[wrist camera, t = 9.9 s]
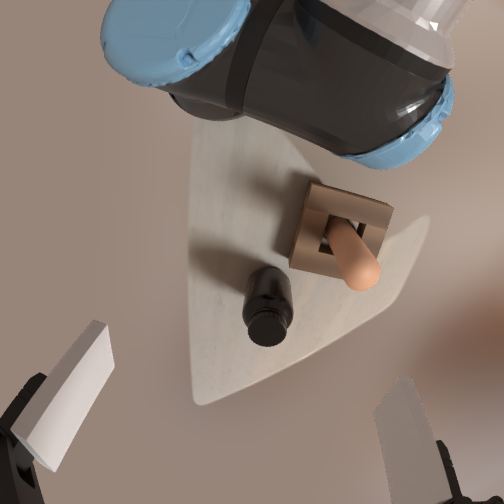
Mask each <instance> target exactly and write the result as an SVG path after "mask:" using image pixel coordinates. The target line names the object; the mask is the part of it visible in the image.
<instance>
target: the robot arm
mask: <svg viewBox="0 0 504 504" xmlns="http://www.w3.org/2000/svg"><path fill="white" fill-rule="evenodd" d="M472 1H473V0H112V1H111V3H110V5H109V7H108V9H107V11H106V13H105V15H104V19H103V23H102V27H101V36H100V37H101V38H100V39H101V46H102V47H103V51H104V57H105V59H106V61H107V62H108V63H109V65H110V66H111V67H112V68H113V69H114V70H115V71H116V72H118V73H119V74H121V75H122V76H124V77H126V79H128V80H130V81H132V83H134V84H137V85H140V86H146V87H155V88H158V89H161V90H163V91H166V92H169V94H170V96H171V98H172V99H173V100H174V102H175V103H176V104H177V105H178V106H179V107H180V108H182V109H183V110H184V111H186V112H187V113H189V114H191V115H193V116H196V117H198V118H202V119H206V120H212V121H227V120H232V119H236V118H239V117H242V116H245V115H246V116H249V117H251V118H254V119H256V120H259V121H262V122H264V123H267V124H269V125H272V126H274V127H277V128H279V129H282V130H284V131H287V132H289V133H291V134H293V135H296V136H298V137H300V138H303V139H305V140H307V141H309V142H312V143H314V144H316V145H318V146H320V147H322V148H325V149H327V150H329V151H330V152H331V153H333V154H334V155H336V156H339V157H341V158H345V159H350V160H353V161H355V162H357V163H359V164H362V165H364V166H366V167H368V168H372V169H377V170H388V169H393V168H396V167H399V166H401V165H404V164H406V163H407V162H409V161H411V160H412V159H414V158H415V157H417V156H418V155H419V154H421V152H423V151H424V150H425V149H426V148H427V147H428V146H429V145H430V144H431V143H432V142H433V140H434V139H435V138H436V137H437V135H438V134H439V133H440V131H441V130H442V125H441V121H442V120H443V119H445V118H447V117H448V116H449V115H450V112H451V109H452V106H453V101H454V87H453V82H452V80H451V78H450V77H449V74H448V73H449V71H450V70H451V69H452V68H453V66H454V65H455V63H456V61H455V56H454V51H453V47H452V43H451V39H450V34H451V30H452V29H453V27H454V26H455V25H456V23H457V22H458V20H459V19H460V18H461V16H462V15H463V14H464V12H465V11H466V9H467V8H468V7H469V5H470V4H471V2H472ZM114 367H115V365H114V360H113V354H112V349H111V344H110V338H109V332H108V325H107V324H105V323H102V322H99V321H96V320H93V321H92V322H91V323H90V324H89V325H88V327H87V328H86V329H85V330H84V331H83V333H82V334H81V335H80V336H79V337H78V339H77V340H76V341H75V342H74V344H73V345H72V346H71V347H70V348H69V350H68V351H67V352H66V354H65V355H64V356H63V357H62V359H61V360H60V361H59V362H58V364H57V365H56V366H55V367H54V369H53V370H52V372H51V373H50V374H49V375H48V376H46V375H44V374H42V373H38V374H36V375H35V376H33V377H31V378H30V379H29V380H28V382H27V383H26V384H25V385H24V387H23V389H21V391H20V392H19V393H18V396H16V397H15V399H14V400H13V401H12V403H11V404H10V406H9V407H8V408H7V409H6V411H5V412H4V414H3V415H2V417H1V418H0V504H45V503H44V500H43V497H42V494H41V490H40V487H39V484H38V480H37V476H36V472H35V468H34V465H33V463H32V461H33V460H34V458H35V459H36V460H37V461H38V462H39V463H40V464H41V465H43V466H45V467H46V468H48V469H50V470H51V471H53V472H56V470H57V468H58V466H59V464H60V463H61V460H62V459H63V457H64V455H65V453H66V451H67V449H68V447H69V445H70V444H71V442H72V440H73V438H74V436H75V434H76V433H77V431H78V429H79V427H80V425H81V424H82V422H83V420H84V418H85V416H86V415H87V413H88V411H89V409H90V408H91V406H92V404H93V402H94V401H95V399H96V397H97V396H98V394H99V392H100V390H101V389H102V387H103V385H104V384H105V382H106V380H107V379H108V377H109V375H110V374H111V372H112V371H113V369H114ZM373 413H374V417H375V422H376V426H377V430H378V435H379V439H380V444H381V448H382V453H383V458H384V463H385V468H386V473H387V479H388V484H389V490H390V496H391V502H392V504H504V502H503V499H502V498H501V497H499V496H493V497H491V498H490V499H489V500H487V501H481V502H472V500H471V499H470V498H468V497H465V496H463V495H462V494H461V491H460V487H459V484H458V480H457V477H456V474H455V470H454V467H452V466H453V464H452V461H451V460H450V455H449V452H448V449H447V447H446V446H445V445H444V443H443V442H442V441H441V440H438V441H435V438H434V435H433V432H432V429H431V427H430V424H429V421H428V418H427V415H426V413H425V410H424V408H423V405H422V402H421V400H420V397H419V395H418V392H417V390H416V387H415V385H414V382H413V380H412V378H411V377H398V378H397V380H396V381H395V383H394V384H393V386H392V387H391V389H390V390H389V391H388V393H387V394H386V396H385V397H384V399H383V400H382V401H381V403H380V404H379V405H378V407H377V408H376V409H375V411H374V412H373Z"/></svg>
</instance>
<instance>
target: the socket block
mask: <svg viewBox="0 0 504 504" xmlns="http://www.w3.org/2000/svg"><path fill="white" fill-rule="evenodd" d="M393 210H394V208H393V207H391V206H390V205H388V204H387V203H384V202H381V201H378V200H375V199H372V198H368V197H365V196H362V195H358V194H355V193H351V192H348V191H345V190H341V189H338V188H334V187H330V186H327V185H323V184H319V183H316V182H312V181H309V185H308V189H307V193H306V197H305V200H304V204H303V208H302V212H301V215H300V219H299V223H298V227H297V230H296V234H295V238H294V241H293V245H292V248H291V252H290V256H289V268H293V269H298V270H302V271H307V272H311V273H316V274H320V275H325V276H329V277H334V278H339V279H343V280H344V278H343V275H342V273H341V270H340V268H339V266H338V263H337V261H336V259H335V256H334V254H333V252H332V250H331V248H330V247H326V246H322V245H320V243H321V240H322V237H323V234H324V230H325V227H326V224H327V220H328V217H329V214H331V215H335V216H338V217H342V218H346V219H349V220H353V221H357V222H359V225H358V228H357V232H356V233H357V234H358V236H359V237H360V238H361V239H362V241H363V242H364V244H365V245H366V246H367V248H368V249H369V250H370V252H371V253H372V254H373V256H374V257H375V259H376V258H377V256H378V253H379V250H380V248H381V245H382V242H383V239H384V236H385V234H386V231H387V228H388V225H389V222H390V219H391V216H392V212H393Z"/></svg>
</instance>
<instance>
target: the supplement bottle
mask: <svg viewBox="0 0 504 504" xmlns="http://www.w3.org/2000/svg"><path fill="white" fill-rule="evenodd" d="M242 317H243V321H244V323H245V325H246V326H247V327H248V335H249V338H251V340H252V341H253V342H254V343H256V344H258V345H259V346H265V347H268V346H269V347H271V346H275V345H278V344H279V343H281V342H282V341H283V340H284V339H285V337H286V333H287V328H288V327H289V326H290V325H291V323H292V320H293V302H292V293H291V285H290V281H289V278H288V277H287V275H286V274H285V273H284V272H282V271H281V270H279V269H276V268H272V267H265V268H261V269H259V270H257V271H255V272H254V273H253V274H252V275H251V276H250V278H249V280H248V282H247V287H246V293H245V299H244V305H243V311H242Z"/></svg>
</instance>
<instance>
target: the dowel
mask: <svg viewBox="0 0 504 504" xmlns="http://www.w3.org/2000/svg"><path fill="white" fill-rule="evenodd" d="M325 236H326V238H327V241H328V243H329V245H330V247H331V250H332V252H333V254H334V256H335V259H336V261H337V263H338V266H339V268H340V270H341V273H342V275H343V278H344V280H345V282H346V284H347V285H348V287H350V288H351V289H353V290H356V291H364V290H367V289H369V288H371V287H372V286H374V285H375V284H376V282H377V281H378V279H379V277H380V274H381V268H380V265H379V263H378V261H377V260H376V259H375V257H374V256H373V254H372V253H371V252H370V250H369V249H368V248H367V246H366V245H365V244H364V242H363V241H362V239H361V238H360V237H359V236H358V234H357V233H356V232H355V230H354V229H353V228H352V226H351V225H350V224H349V222H348V221H347V220H345V219H343V218H333V219H331V220H330V221H329V222H328V223H327V224H326V227H325Z"/></svg>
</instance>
